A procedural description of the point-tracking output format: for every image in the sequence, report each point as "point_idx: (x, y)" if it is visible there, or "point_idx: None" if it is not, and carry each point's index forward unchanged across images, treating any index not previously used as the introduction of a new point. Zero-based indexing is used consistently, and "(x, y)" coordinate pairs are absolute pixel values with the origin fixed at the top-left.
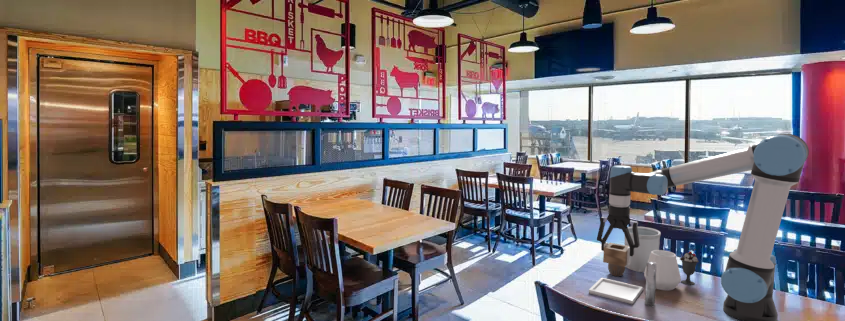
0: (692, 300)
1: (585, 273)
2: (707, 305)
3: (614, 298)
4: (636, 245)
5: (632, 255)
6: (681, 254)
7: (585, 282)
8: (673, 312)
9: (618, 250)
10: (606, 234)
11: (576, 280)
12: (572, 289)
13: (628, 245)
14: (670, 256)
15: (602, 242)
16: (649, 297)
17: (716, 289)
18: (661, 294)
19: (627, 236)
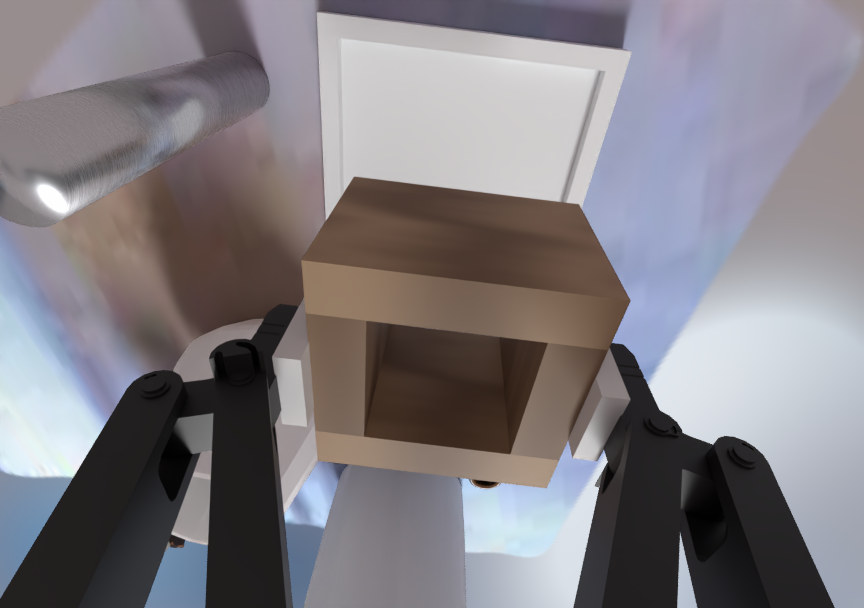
0: (115, 264)
1: (632, 349)
2: (42, 239)
3: (443, 26)
4: (145, 396)
5: (274, 311)
6: (170, 544)
7: (638, 230)
8: (95, 34)
9: (407, 271)
10: (652, 556)
11: (694, 234)
12: (743, 57)
13: (440, 576)
14: (198, 511)
15: (658, 417)
16: (206, 58)
17: (110, 408)
18: (245, 265)
19: (233, 542)
